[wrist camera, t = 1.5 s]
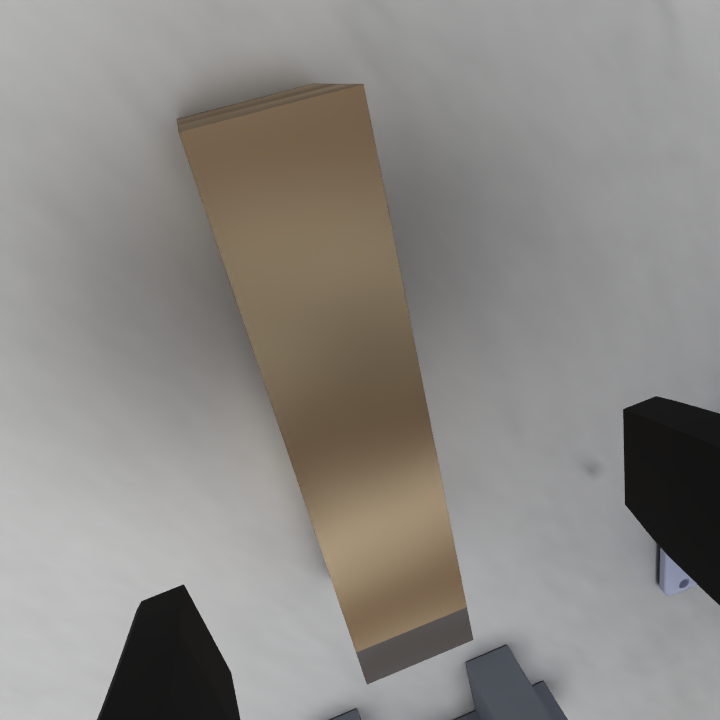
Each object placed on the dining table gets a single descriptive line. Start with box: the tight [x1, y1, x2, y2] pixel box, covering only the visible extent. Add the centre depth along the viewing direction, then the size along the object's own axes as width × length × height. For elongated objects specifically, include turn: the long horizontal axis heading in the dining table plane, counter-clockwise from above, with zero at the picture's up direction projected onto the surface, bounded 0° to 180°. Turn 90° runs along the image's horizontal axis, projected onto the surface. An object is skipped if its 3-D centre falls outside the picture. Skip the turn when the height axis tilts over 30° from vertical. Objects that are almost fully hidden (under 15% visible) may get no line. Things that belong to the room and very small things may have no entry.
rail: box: [177, 84, 473, 684], centre depth 17 cm, size 16×4×4 cm, turn 12°
